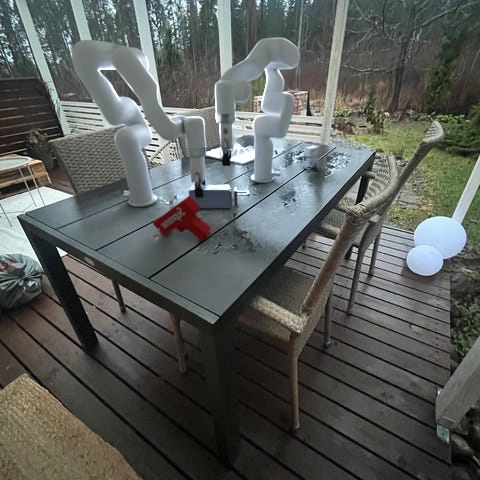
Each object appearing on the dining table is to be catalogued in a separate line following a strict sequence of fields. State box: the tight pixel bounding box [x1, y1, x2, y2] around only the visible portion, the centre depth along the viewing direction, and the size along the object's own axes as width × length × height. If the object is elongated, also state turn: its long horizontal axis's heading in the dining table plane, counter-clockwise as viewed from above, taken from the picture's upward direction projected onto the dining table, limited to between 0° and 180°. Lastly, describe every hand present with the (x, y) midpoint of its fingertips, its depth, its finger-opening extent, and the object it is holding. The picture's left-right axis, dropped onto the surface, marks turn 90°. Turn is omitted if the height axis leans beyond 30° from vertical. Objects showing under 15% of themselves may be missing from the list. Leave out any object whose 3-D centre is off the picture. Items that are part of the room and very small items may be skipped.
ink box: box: [301, 144, 320, 170], centre depth 160 cm, size 8×5×12 cm, turn 134°
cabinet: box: [188, 184, 231, 211], centre depth 116 cm, size 17×6×9 cm, turn 91°
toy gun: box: [152, 195, 212, 243], centre depth 96 cm, size 18×4×15 cm
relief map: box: [206, 141, 254, 165], centre depth 184 cm, size 27×35×5 cm
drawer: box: [230, 186, 251, 208], centre depth 116 cm, size 21×5×7 cm, turn 91°
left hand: (200, 192), depth 115 cm, fingers open, 9 cm apart
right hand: (227, 162), depth 114 cm, fingers open, 9 cm apart
